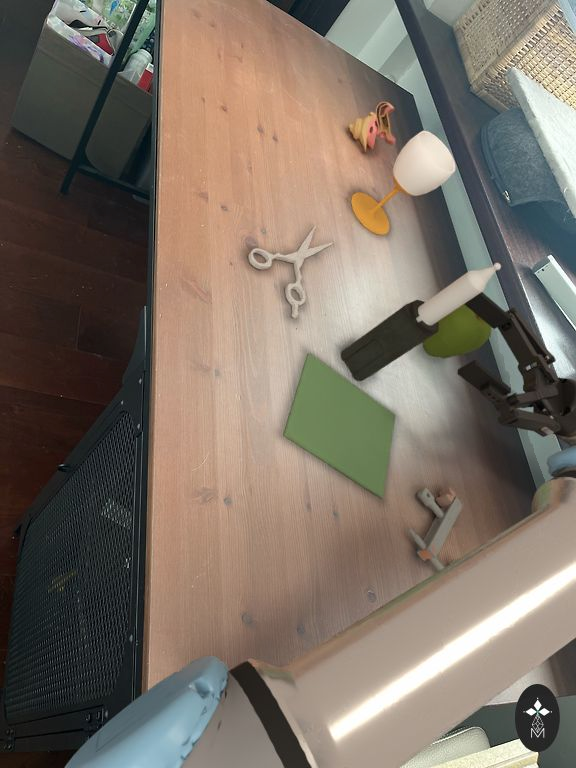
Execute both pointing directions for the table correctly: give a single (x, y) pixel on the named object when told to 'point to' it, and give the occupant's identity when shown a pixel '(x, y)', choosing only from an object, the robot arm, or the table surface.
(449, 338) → the green rounded fruit
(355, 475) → the cloth
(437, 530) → the clamp
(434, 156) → the cup
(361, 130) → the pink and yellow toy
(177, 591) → the table surface
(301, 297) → the scissors
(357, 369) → the candle
